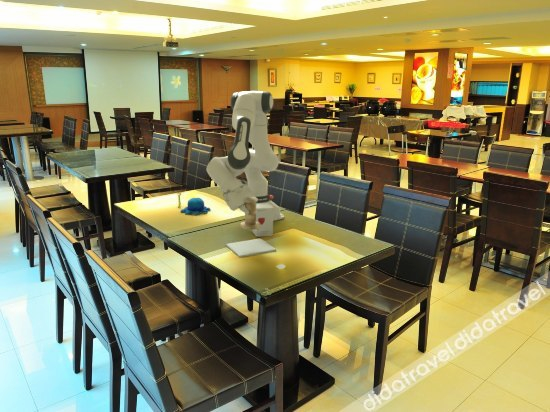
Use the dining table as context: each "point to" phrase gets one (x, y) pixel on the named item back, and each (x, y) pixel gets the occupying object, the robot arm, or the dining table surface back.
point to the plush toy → (195, 207)
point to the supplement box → (264, 220)
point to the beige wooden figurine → (250, 214)
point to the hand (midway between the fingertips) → (251, 211)
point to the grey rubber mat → (250, 247)
